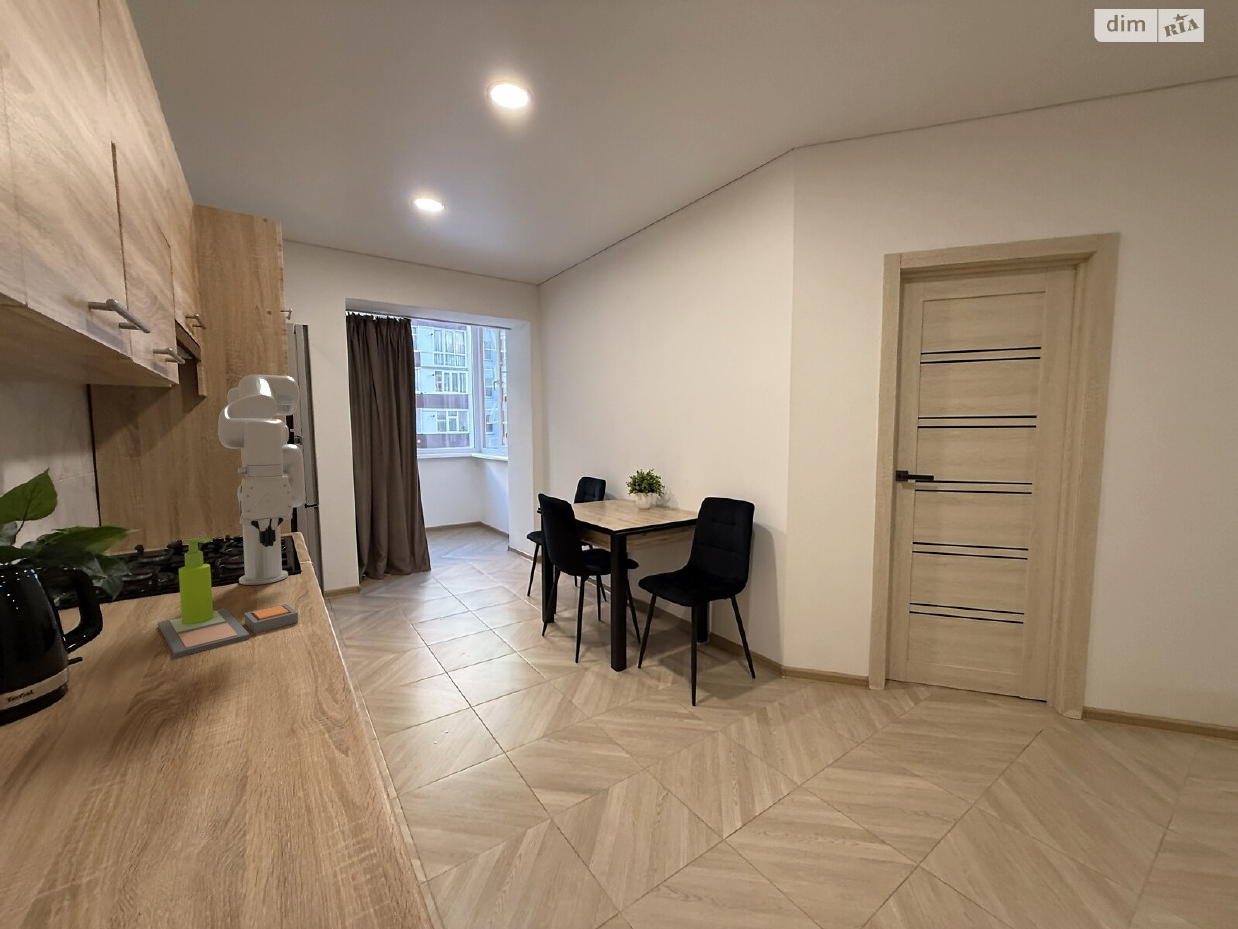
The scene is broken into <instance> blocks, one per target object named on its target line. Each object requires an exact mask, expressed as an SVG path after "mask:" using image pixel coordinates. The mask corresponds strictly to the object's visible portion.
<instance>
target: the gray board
mask: <svg viewBox="0 0 1238 929" xmlns="http://www.w3.org/2000/svg"><path fill="white" fill-rule="evenodd" d="M157 626H158V629H159V631H160V633H161V634H162V636H163V638H164V639H165V641H166V644H167V646H169V649H170V651H171V653H172V655H173V656H174V658H178V657H179V658H180V657H183V656H185V655H186V656H187V655H189V654H190V655H191V654H194V653H198V652H202V651H205V650H209V649H214V648H218V647H221V646H226V645H229V644H233V643H238V642H241V641H245V640H249V639H250V637H251V636H250V633H249V632H248V631H247V630H246V629H245V628H244V627H243V625H241V623H240V622H239V621H238V620H237V619H236V618H235V617H234V616H233V615H232V614H231V613H230V612H229V611H228V610H227V608H220V609H215V610H214V609H213V618H211V619H210V620H207V621H204V622H200V623H194V624H183V623H182V616H181V617H178V618H172V619H168V620H164V621H159V622H157Z"/></svg>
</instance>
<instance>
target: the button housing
mask: <svg viewBox="0 0 1238 929" xmlns="http://www.w3.org/2000/svg"><path fill="white" fill-rule="evenodd" d="M277 606H282V607H284V608H285V609H286V610H287V611H289V613H288V614H284V615H280V616H276V617H272V618H267V619H263V620H259V621H258V620H257V619H256V618H255V617H254V616H253V612H255V611H260V610H264V609H268V608H273V607H277ZM243 614H244V618H243V619H244V624H245V625H246V626H247V627H248V629H250V630H251V632H253V633H254V634H257V633H262V632H266V631H269V630H273V629H277V628H281V627H286V626H289V625H293V624H296V623H299V612H298V611H297V610H295V609H294V608H292V607H291V606H290V605H289V604H287V603H284V604H280V605H279V604H278V605H276V606H275V605H274V606H271V607H267V608H262V609H261V608H260V609H258V610H253V611H249V612H244V613H243Z"/></svg>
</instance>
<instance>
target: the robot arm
mask: <svg viewBox="0 0 1238 929" xmlns="http://www.w3.org/2000/svg"><path fill="white" fill-rule="evenodd" d="M300 397H301V391H300V386H299V384H298V382H297V381H296V380H295V379H294V378H293V377H290V376H289V375H288V376H287V375H272V374H249V375H245V376H244V377H243V378H241V379H240V381H239V382H238V386H237V387H233V388H231V389H229V390H228V392H227V396H226V401H227V404H226V405H225V406H224V407H223V408H222V409H221V411H220V413H219V415H218V421H217V422H218V424H217V434H218V440H219V442H220V444H221V445H222V446H223V447H224V448H227V449H234V450H235V449H236V450H239V449H240V454H241V455H240V456H241V464H242V465H241V466H242V467H238V468H237V473H238V475H240V474H242V475H244V476H245V477H242V478H241V484H240V485H239V486H238V487H237V493H236V495H237V500H238V505H239V515H240V519H239V524H240V525H241V526H242V540H243V557H244V558H243V561H244V564H243V565H244V575H242V576H241V577H239V578H238V581H239V584H241V585H245V586H257V585H267V584H273V583H277V582H280V581H282V580H285V579H287V578H288V576H289V572H288V571H287V570H283V566H282V562H283V561H282V541H281V524H282V523H283V522H286V521H289V520H292V519H293V510H294V508H298V507H301V506H302V505H303V504H304V503H305V501H306V500H305V499H306V486H305V470H304V469H305V468H304V456H303V453H302V450H301V448H299V446H297V445H296V444H291V443H289V444H288V443H287V442H288V441H289V438H290V437H289V435H290V432H289V426H288V425H286V423H285V422H284V421H283V420H281V419H277V418H274V417H275V416H292V415H294V414H295V413H296V412H297V410H298V407H299V403H300Z"/></svg>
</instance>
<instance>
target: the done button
mask: <svg viewBox="0 0 1238 929" xmlns="http://www.w3.org/2000/svg"><path fill="white" fill-rule="evenodd" d="M276 606H277V607H274V606H272V607H273V608H270V607H267V608H268V609H265V608H263V609H264V610H261V609H259V610H260V611H256V610H254V611H255V612H253V616H254V617H255V618H256V619H257V620H258V621H259V620H263V619H267V618H272V617H276V616H280V615H284V614H288V613H289V611H287V610H286V609H285V608H284V607H282V606H279V605H276Z"/></svg>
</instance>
